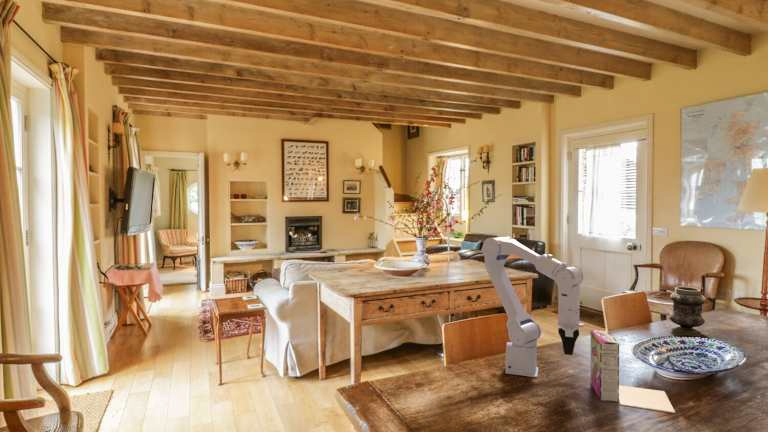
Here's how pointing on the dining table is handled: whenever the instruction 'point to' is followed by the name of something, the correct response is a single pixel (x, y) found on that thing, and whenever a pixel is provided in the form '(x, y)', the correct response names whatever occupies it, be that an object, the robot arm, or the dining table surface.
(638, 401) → the placemat
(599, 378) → the candy bar box
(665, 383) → the dining table surface
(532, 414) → the dining table surface
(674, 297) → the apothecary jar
